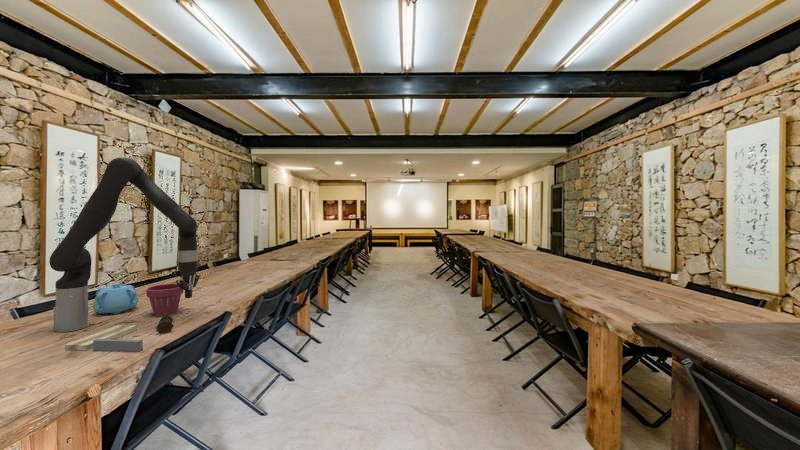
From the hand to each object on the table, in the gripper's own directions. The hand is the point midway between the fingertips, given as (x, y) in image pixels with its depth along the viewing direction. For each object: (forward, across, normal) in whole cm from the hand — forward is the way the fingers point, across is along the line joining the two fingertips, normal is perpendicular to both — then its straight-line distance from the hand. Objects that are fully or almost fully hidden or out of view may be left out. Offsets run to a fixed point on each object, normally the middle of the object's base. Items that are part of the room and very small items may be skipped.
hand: (188, 297), depth 145 cm
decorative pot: (+9, -8, -41) cm, 43 cm away
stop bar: (+9, +35, 0) cm, 36 cm away
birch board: (+9, +26, -14) cm, 31 cm away
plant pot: (+9, -7, -16) cm, 20 cm away
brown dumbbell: (+10, +13, -1) cm, 16 cm away
